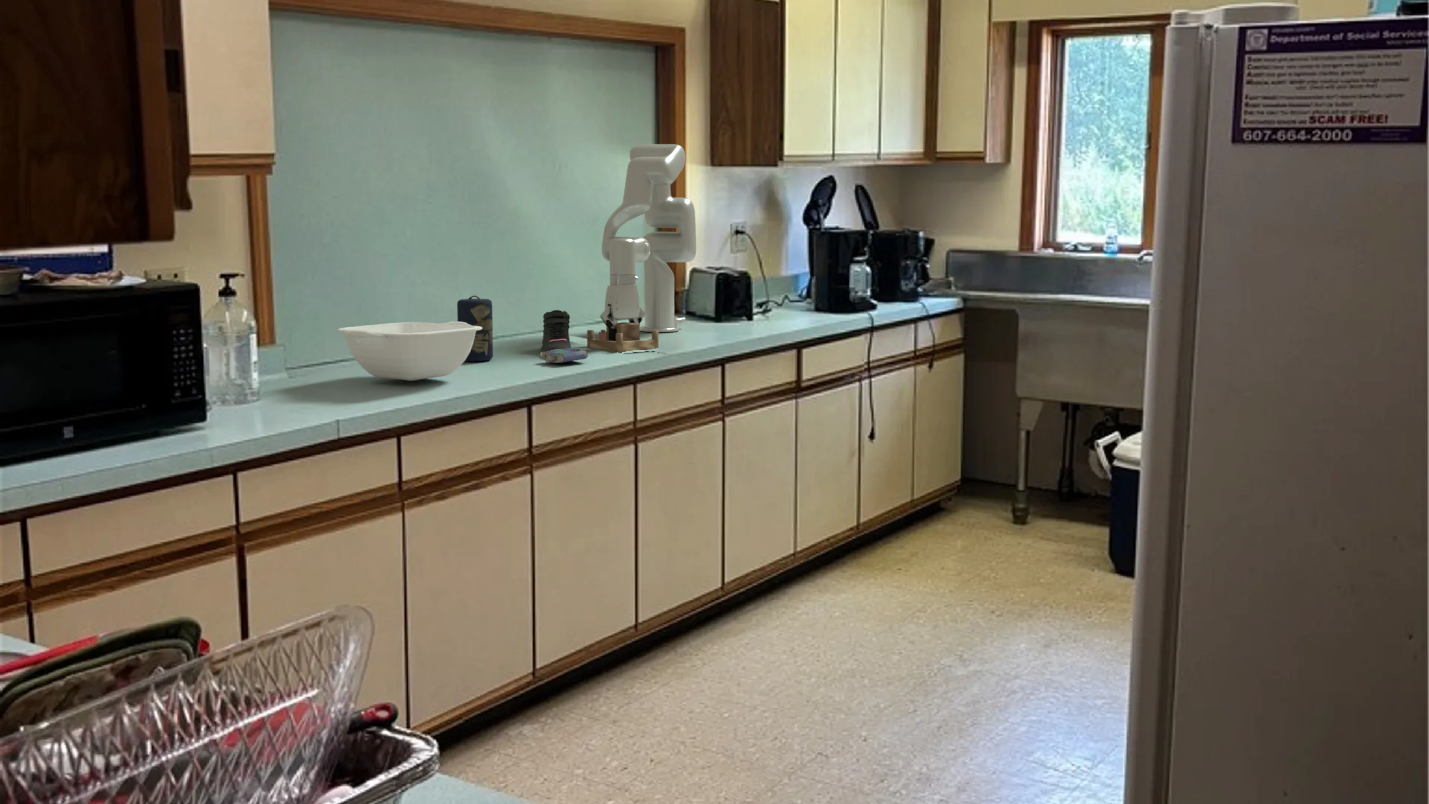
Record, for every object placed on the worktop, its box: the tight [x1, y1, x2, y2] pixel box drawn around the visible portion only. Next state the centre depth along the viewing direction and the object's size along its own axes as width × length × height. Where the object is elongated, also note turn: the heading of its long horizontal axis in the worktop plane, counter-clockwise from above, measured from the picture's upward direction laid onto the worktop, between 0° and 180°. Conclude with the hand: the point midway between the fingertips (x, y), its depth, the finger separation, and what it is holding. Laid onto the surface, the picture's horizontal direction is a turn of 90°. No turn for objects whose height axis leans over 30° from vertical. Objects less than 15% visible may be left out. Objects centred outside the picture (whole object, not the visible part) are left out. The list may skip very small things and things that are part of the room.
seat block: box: [605, 321, 641, 341], centre depth 405 cm, size 7×7×6 cm
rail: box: [598, 329, 606, 340], centre depth 410 cm, size 12×2×6 cm, turn 143°
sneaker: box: [539, 309, 572, 358], centre depth 391 cm, size 10×26×13 cm, turn 12°
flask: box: [541, 347, 589, 364], centre depth 374 cm, size 9×3×11 cm
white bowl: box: [337, 321, 482, 381], centre depth 342 cm, size 34×28×13 cm
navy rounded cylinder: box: [456, 294, 494, 362], centre depth 377 cm, size 10×10×18 cm
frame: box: [586, 329, 660, 354], centre depth 405 cm, size 16×16×6 cm
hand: (623, 340), depth 405 cm, fingers closed on seat block, 7 cm apart
